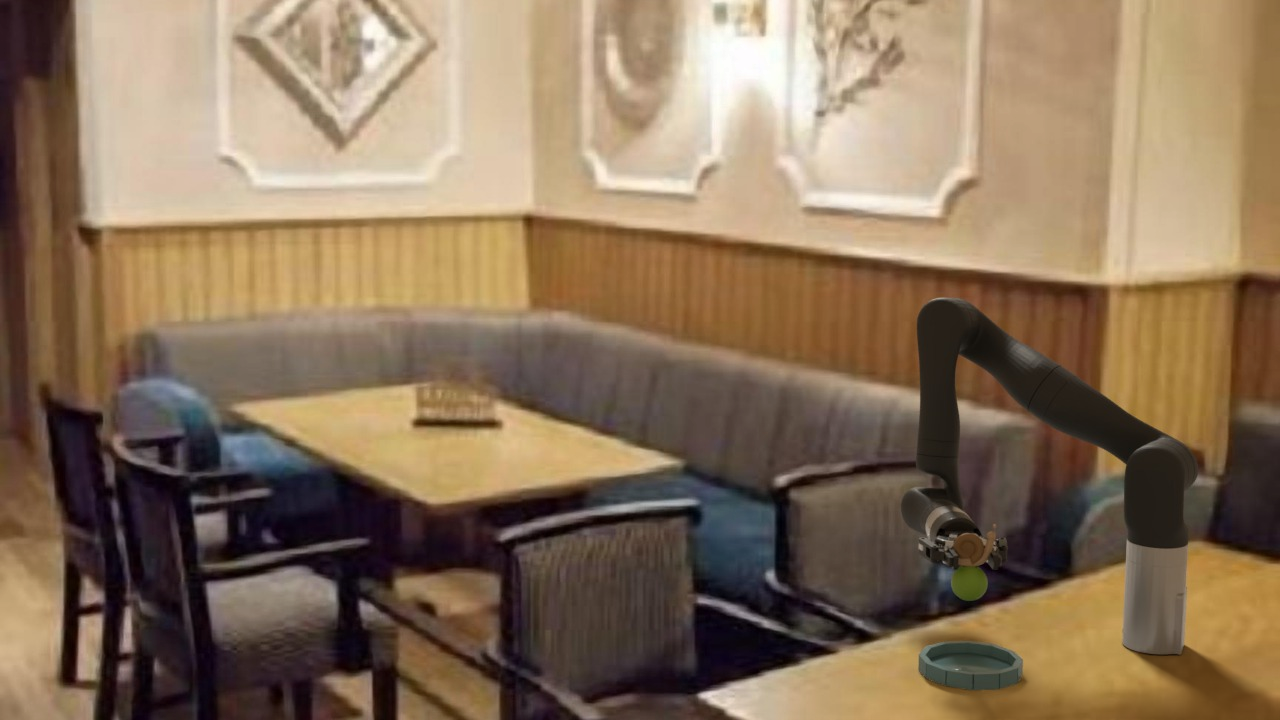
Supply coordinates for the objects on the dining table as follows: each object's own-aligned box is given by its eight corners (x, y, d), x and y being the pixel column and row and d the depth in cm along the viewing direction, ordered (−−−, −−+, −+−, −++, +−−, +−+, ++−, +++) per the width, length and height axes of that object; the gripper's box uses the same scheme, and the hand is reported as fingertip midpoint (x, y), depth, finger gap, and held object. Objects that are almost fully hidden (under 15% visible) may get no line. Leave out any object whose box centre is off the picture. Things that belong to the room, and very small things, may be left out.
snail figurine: (993, 607, 227) (996, 529, 225) (950, 604, 228) (952, 526, 226) (993, 596, 232) (996, 519, 230) (950, 593, 233) (953, 517, 231)
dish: (1029, 663, 235) (1029, 648, 235) (1010, 695, 221) (1011, 679, 221) (932, 650, 241) (933, 636, 241) (909, 680, 227) (909, 665, 227)
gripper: (908, 510, 243) (928, 538, 226) (998, 510, 243) (1025, 538, 226) (907, 556, 244) (927, 587, 227) (996, 556, 244) (1023, 587, 227)
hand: (976, 563), depth 227 cm, fingers closed on snail figurine, 5 cm apart
